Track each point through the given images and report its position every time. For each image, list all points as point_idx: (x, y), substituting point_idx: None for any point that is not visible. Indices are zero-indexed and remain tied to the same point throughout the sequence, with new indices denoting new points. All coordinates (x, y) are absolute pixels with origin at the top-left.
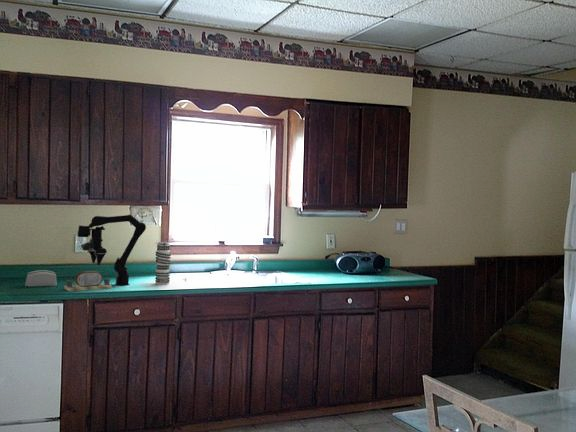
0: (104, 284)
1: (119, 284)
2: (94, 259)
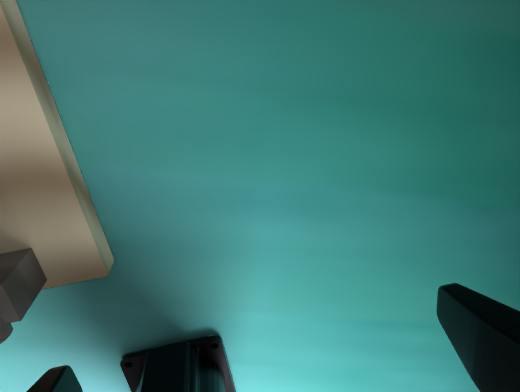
0: (20, 250)
1: (134, 363)
2: (497, 389)
